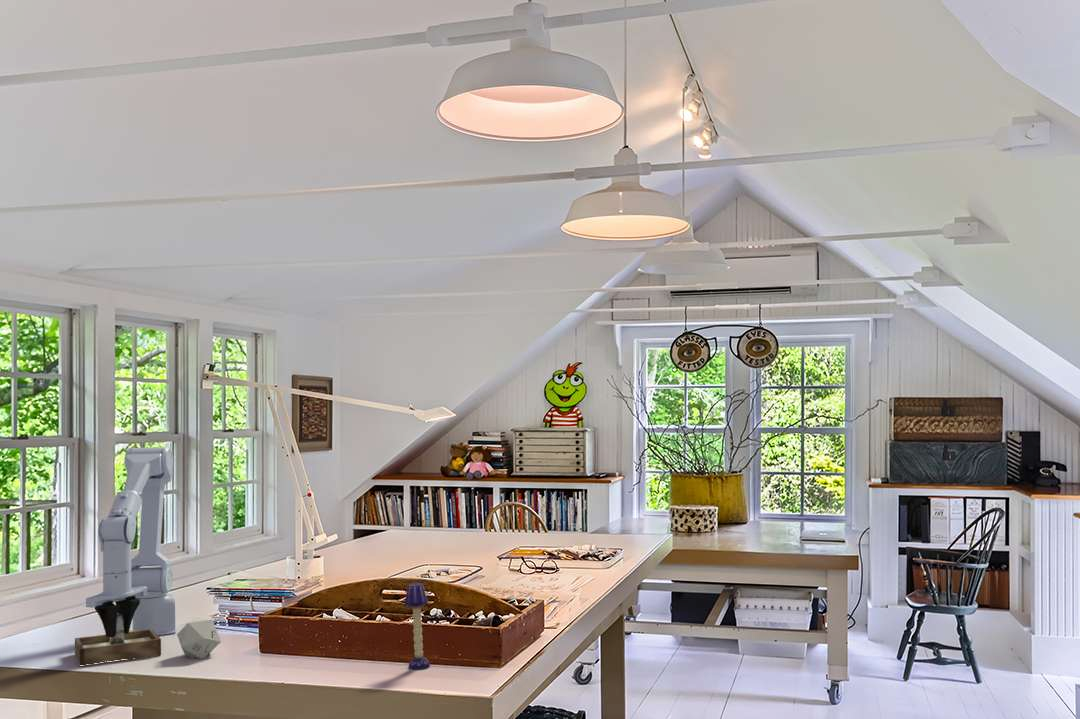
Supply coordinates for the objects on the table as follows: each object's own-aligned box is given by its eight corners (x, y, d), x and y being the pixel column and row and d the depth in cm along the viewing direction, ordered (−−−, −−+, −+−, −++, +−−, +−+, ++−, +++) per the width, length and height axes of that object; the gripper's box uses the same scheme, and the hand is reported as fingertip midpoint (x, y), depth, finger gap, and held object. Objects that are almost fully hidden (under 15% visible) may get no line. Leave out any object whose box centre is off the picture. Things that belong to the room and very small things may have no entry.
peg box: (152, 644, 230) (152, 628, 230) (161, 655, 219) (160, 639, 219) (74, 654, 222) (74, 638, 222) (80, 666, 211) (79, 649, 211)
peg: (116, 641, 222) (116, 613, 223) (127, 641, 221) (127, 614, 222) (106, 644, 220) (106, 616, 220) (117, 645, 219) (116, 616, 219)
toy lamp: (419, 671, 202) (417, 586, 203) (400, 668, 204) (399, 584, 205) (434, 665, 206) (432, 582, 207) (416, 662, 209) (414, 581, 209)
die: (179, 666, 212) (207, 628, 213) (162, 640, 217) (189, 604, 218) (208, 671, 219) (235, 635, 219) (191, 646, 224) (217, 611, 224)
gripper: (131, 565, 229) (131, 626, 229) (76, 576, 216) (76, 640, 216) (153, 567, 226) (154, 628, 226) (98, 578, 213) (99, 643, 213)
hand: (117, 634), depth 221 cm, fingers closed on peg, 3 cm apart
